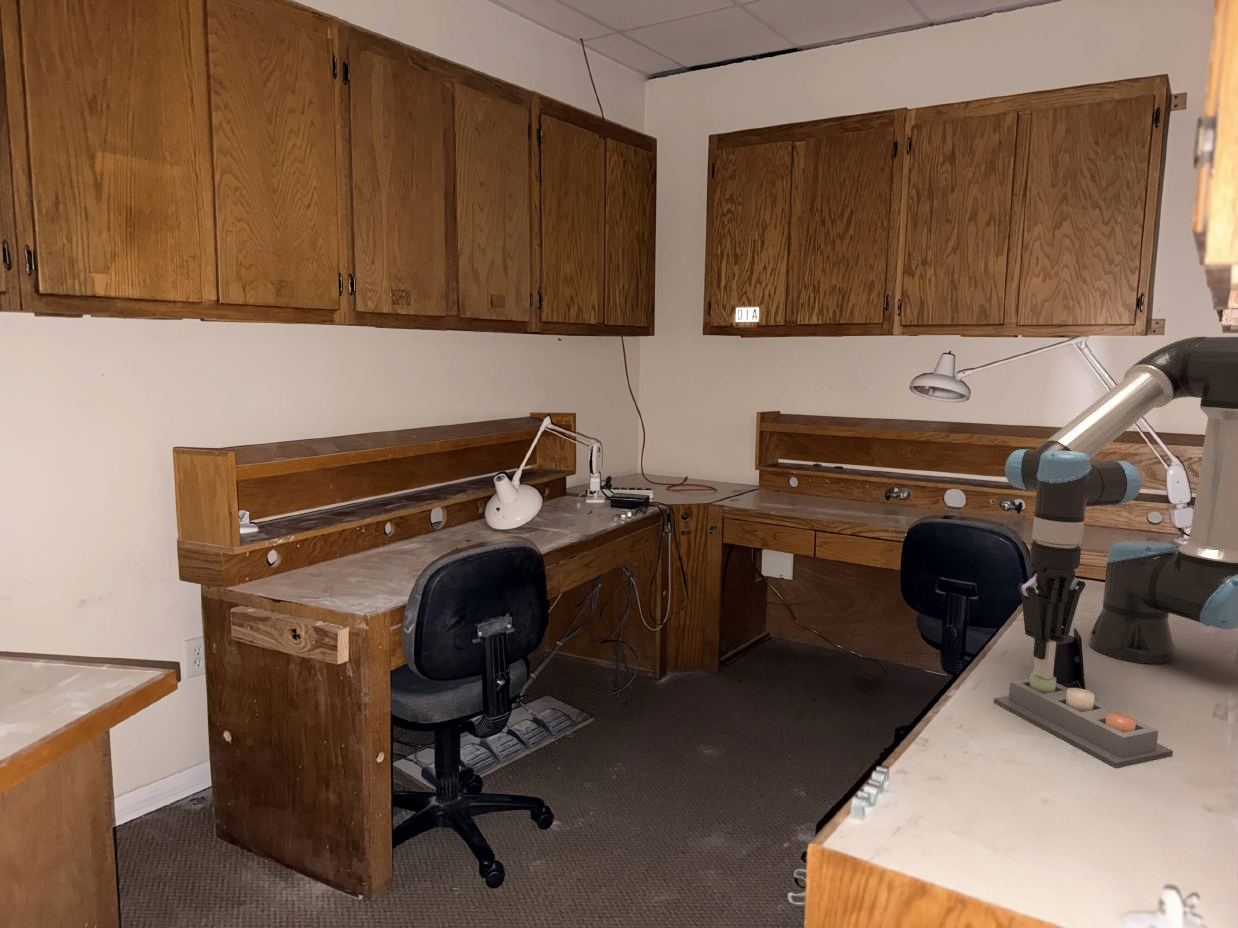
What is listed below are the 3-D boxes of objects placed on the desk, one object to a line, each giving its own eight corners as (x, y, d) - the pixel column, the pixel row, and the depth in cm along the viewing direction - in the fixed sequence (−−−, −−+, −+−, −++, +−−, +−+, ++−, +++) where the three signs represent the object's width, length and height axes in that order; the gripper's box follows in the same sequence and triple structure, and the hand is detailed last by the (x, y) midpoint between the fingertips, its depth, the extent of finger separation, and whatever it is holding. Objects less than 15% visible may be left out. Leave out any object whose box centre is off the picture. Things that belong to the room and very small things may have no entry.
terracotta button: (1098, 735, 132) (1100, 714, 132) (1116, 731, 134) (1118, 711, 133) (1120, 747, 129) (1123, 725, 128) (1139, 743, 130) (1142, 722, 130)
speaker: (1091, 681, 157) (1090, 628, 156) (1085, 692, 152) (1083, 637, 151) (1047, 674, 162) (1045, 623, 160) (1039, 685, 157) (1038, 632, 156)
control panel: (993, 702, 148) (995, 680, 147) (1045, 693, 152) (1047, 672, 151) (1115, 767, 125) (1118, 742, 125) (1172, 755, 129) (1175, 731, 129)
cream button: (1059, 709, 139) (1061, 689, 139) (1077, 706, 141) (1079, 686, 140) (1079, 719, 136) (1082, 699, 135) (1098, 716, 137) (1100, 696, 136)
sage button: (1023, 692, 146) (1025, 673, 146) (1041, 689, 148) (1042, 670, 147) (1042, 702, 143) (1044, 682, 142) (1059, 698, 144) (1061, 679, 143)
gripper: (1066, 535, 147) (1053, 663, 150) (1008, 539, 142) (996, 671, 146) (1104, 545, 140) (1089, 679, 143) (1044, 550, 135) (1031, 688, 139)
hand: (1042, 675), depth 144 cm, fingers closed
